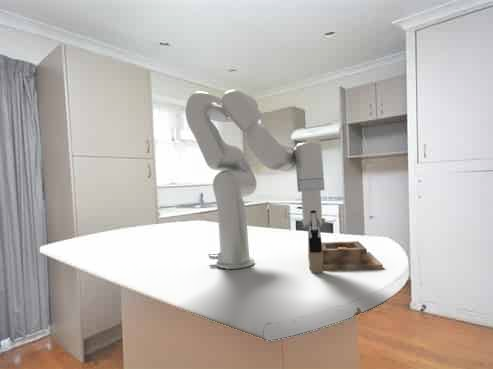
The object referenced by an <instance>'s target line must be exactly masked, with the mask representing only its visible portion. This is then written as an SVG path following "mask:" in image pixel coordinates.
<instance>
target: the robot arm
mask: <svg viewBox="0 0 493 369" xmlns="http://www.w3.org/2000/svg"><path fill="white" fill-rule="evenodd" d="M185 104H186V105H185V120H186V122H187V125H188V127H189V129H190V131H191V132H192V135H193V136H194V138H195V140H196V142H197V145H198V147H199V150H200V152H201V154H202V156H203V158H204V161H205V163H206V165H207V166H208V167H209V169H211V170H215V171H220V172H218V173H217V174H216V175H215V176H214V178H213V182H212V190H213V193H214V194H213V195H214V197H215V201H216V209H217V211H216V212H217V221H218V223H217V224H218V236H219V248H220V251H217V252H209V253H208V258H209V259H210V260H217V261H216V267H217V266H218V267H217V268H219V267H221V268H220V269H222V268H225V269H224V270H238V269H239V270H240V269H245V268H248V267H252V265H254V264H255V259H254V258H253V257H250V250H249V248H250V247H249V234H248V217H247V208H246V204H245V202H244V199H243V198H245V197H249V196H252V194H254V193H255V191H256V189H257V179H256V178H257V177H256V176H255V173H254V171H253V170H252V167H251V166H250V163H249V161H248V159H247V157H246V155H245V153H244V152H243V150H242V149H240V148H239V147H238V146H236V145H233V144H228V143H227V142H225V141H224V139H223V137H222V136H221V133H220V131H219V130H218V128H217V126H216V125H215V124H214V121H215V122H219V123H232V122H233V123H234V124H235V126H237V128H239V130H240V131H241V132H242V133H243V135H244V136H245V140H246V142H247V146H248V147H249V149H250V151H251V152H252V154H253V155H254V156H255V157H256V158H257V159H258V160H259V162H260V163H261V164H263V166H264V167H266V168H268V169H269V170H271V171H281V172H291V171H296V184H297V186H296V188H297V193H299V192H301V207H302V209H301V210H302V211H301V212H302V219H303V224H302V225H303V227H304V228H307V226H306V225H309V234H310V238H309V247H310V252H311V253H318V252H322V247H321V242H322V236H321V237H320V234H321V230H320V231H319V227H320V226H321V225H322V218H323V217H322V216H323V210H322V209H323V208H322V196H321V195H322V194H321V191H325V190H326V189H325V178H324V177H325V176H324V161H323V150H322V149H323V148H322V145H321V143H320V142H317V141H306V142H300V143H297V144H296V145H295V146H289V145H286V144H281V143H280V142H278V141H277V139H276V138H274V136H273V135H272V134H271V133H270V132H269V131H268V130H267V128H266V125H267V122H268V121H267V118H266V116H265V115H264V114H263V113H262V112H261V111H260V110H259V106H258V105H259V104H258V102H257V101H256V99H255V98H253V96H251V95H249V94H246V93H245V92H242V91H241V90H238V89H237V90H236V89H231V90H228V91H226V92H225V93H224V94H223V95H222V97H221V96H217V95H216V94H212V93H208V92H205V91H196V92H194V93H191V95H190V96H189V97H188V99H187V101H186V103H185ZM212 121H213V122H212ZM319 222H320V224H319ZM317 223H318V226H317ZM310 224H312V226H311V227H310ZM319 225H320V226H319ZM322 226H323V225H322ZM322 226H321V227H322ZM321 227H320V228H321ZM311 233H312V234H311Z"/></svg>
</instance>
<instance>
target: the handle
mask: <svg viewBox="0 0 493 369" xmlns="http://www.w3.org/2000/svg"><path fill="white" fill-rule="evenodd" d="M301 223H302V225H303V218H302V219H301ZM325 223H326V218H325V217H322V225H321V226H320V225H319V226H320V227H319V231H320V232H321V227H322V226H324V225H325ZM319 224H320V222H319ZM311 226H312V224H310V227H311ZM317 226H318V223H317ZM306 228H307V234H308V235H307V238H308V239H307V240H308V246H307V248H308V252H307V254H308V253H309V259H308V263H309V262H310V266H311V270H310V271H311V273H314V274H322V273H323V272H324V270H323V267H322V266H323V249H322V252H318V253H311V252H310V247H309V238H310V234H309V225H306ZM311 234H312V233H311ZM320 237H321V238H322V236H321V233H320ZM322 243H323V242H322V241H321V247H322Z"/></svg>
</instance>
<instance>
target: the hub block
mask: <svg viewBox="0 0 493 369" xmlns="http://www.w3.org/2000/svg"><path fill="white" fill-rule="evenodd" d="M322 249H323V266H322V267H323V271H333V270H334V271H335V270H336V271H338V270H339V271H340V270H342V271H343V270H345V271H346V270H347V271H348V270H350V271H351V270H383V269H384V266H383V263H381V261H379V260H378V259H377V258H376V257H375V256H374V255H373V254H372V253H371V252H370V251H367V250H368V249H367V248H366V247H365V246H364V245H363V244H362V243H361V242H360V241H359V240H355V241H329V242H328V241H326V242H325V241H324V242H322ZM307 258H308V260H309V253H308V252H307ZM308 268H309V271H311V266H310V262H309V261H308Z"/></svg>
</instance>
